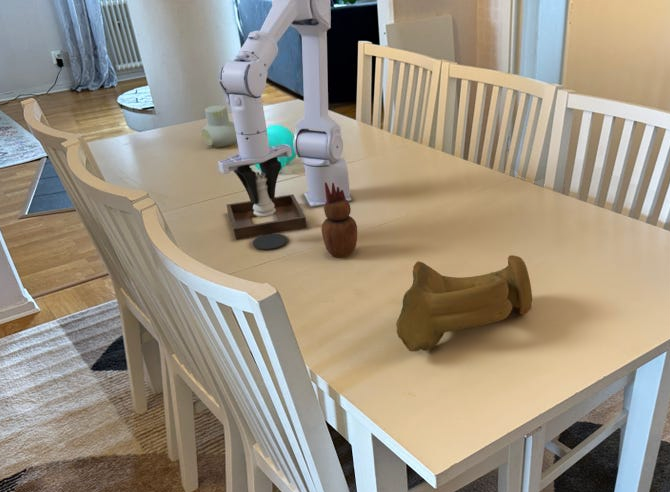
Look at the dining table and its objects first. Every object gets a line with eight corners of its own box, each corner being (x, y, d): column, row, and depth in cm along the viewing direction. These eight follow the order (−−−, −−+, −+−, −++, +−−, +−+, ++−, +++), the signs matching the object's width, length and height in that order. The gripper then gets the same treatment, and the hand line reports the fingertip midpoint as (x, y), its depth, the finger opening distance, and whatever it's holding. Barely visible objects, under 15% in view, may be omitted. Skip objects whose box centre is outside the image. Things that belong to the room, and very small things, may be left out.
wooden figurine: (327, 262, 132) (318, 188, 123) (322, 249, 136) (313, 177, 128) (361, 257, 133) (355, 183, 124) (355, 244, 138) (349, 172, 129)
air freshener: (201, 143, 195) (193, 107, 189) (227, 136, 199) (221, 101, 193) (216, 152, 187) (209, 115, 182) (244, 145, 191) (238, 109, 186)
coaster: (284, 233, 143) (284, 231, 143) (290, 246, 138) (290, 245, 138) (250, 238, 142) (250, 236, 141) (255, 252, 136) (255, 250, 136)
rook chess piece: (266, 207, 139) (259, 168, 134) (280, 212, 137) (274, 173, 132) (249, 214, 136) (241, 175, 132) (263, 219, 134) (256, 180, 129)
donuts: (301, 162, 178) (296, 124, 173) (286, 176, 171) (281, 136, 165) (266, 160, 181) (260, 122, 175) (250, 174, 173) (243, 134, 167)
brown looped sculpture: (386, 259, 116) (513, 231, 115) (402, 331, 120) (526, 304, 119) (384, 280, 98) (535, 247, 97) (404, 364, 102) (549, 333, 101)
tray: (294, 204, 156) (293, 194, 155) (307, 227, 145) (305, 217, 144) (228, 214, 152) (226, 204, 151) (235, 239, 141) (233, 229, 140)
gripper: (274, 117, 133) (284, 184, 141) (205, 134, 126) (220, 203, 134) (293, 125, 129) (302, 194, 137) (222, 142, 121) (236, 214, 129)
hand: (262, 199), depth 135 cm, fingers closed on rook chess piece, 3 cm apart
